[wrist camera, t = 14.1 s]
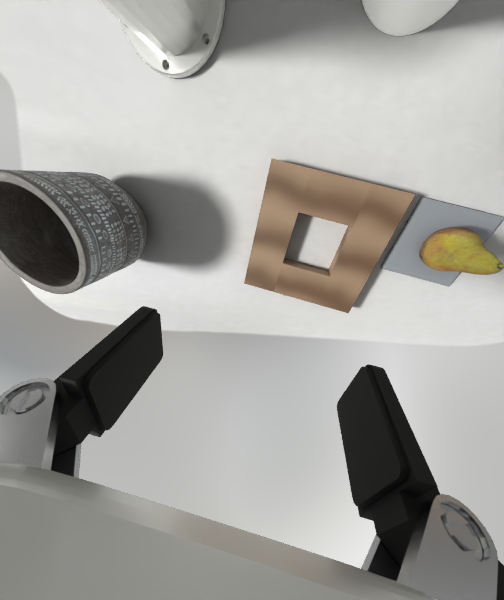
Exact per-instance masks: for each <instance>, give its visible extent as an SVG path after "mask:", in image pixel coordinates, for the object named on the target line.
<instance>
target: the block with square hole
mask: <svg viewBox="0 0 504 600" xmlns="http://www.w3.org/2000/svg"><path fill="white" fill-rule="evenodd" d="M414 196H415V194H412V193H408V192H404V191H400V190H396V189H392V188H388V187H384V186H380V185H376V184H372V183H368V182H364V181H360V180H356V179H352V178H348V177H344V176H340V175H336V174H332V173H328V172H324V171H320V170H316V169H312V168H308V167H304V166H300V165H296V164H292V163H288V162H284V161H280V160H276V159H271V164H270V168H269V173H268V177H267V182H266V187H265V191H264V196H263V200H262V205H261V209H260V214H259V218H258V223H257V228H256V232H255V237H254V241H253V246H252V250H251V255H250V259H249V264H248V269H247V273H246V278H245V282H244V283H245V284H249V285H252V286H256V287H259V288H263V289H266V290H270V291H273V292H276V293H280V294H283V295H287V296H290V297H294V298H297V299H301V300H304V301H308V302H311V303H315V304H318V305H322V306H325V307H329V308H332V309H336V310H339V311H343V312H346V313H349V311H350V310H351V308H352V306H353V304H354V302H355V301H356V299H357V297H358V295H359V294H360V292H361V290H362V288H363V286H364V285H365V283H366V281H367V279H368V278H369V276H370V274H371V272H372V271H373V269H374V267H375V265H376V263H377V262H378V260H379V258H380V256H381V255H382V253H383V251H384V249H385V247H386V246H387V244H388V242H389V240H390V239H391V237H392V235H393V233H394V231H395V230H396V228H397V226H398V224H399V223H400V221H401V219H402V217H403V216H404V214H405V212H406V210H407V208H408V207H409V205H410V203H411V201H412V200H413V198H414ZM298 212H299V213H303V214H307V215H310V216H314V217H318V218H322V219H326V220H329V221H333V222H337V223H341V224H345V225H348V228H347V230H346V232H345V234H344V237H343V239H342V241H341V243H340V246H339V248H338V250H337V252H336V255H335V257H334V259H333V261H332V264H331V266H330V268H329V270H328V271H327V270H324V269H320V268H317V267H313V266H309V265H306V264H302V263H299V262H295V261H291V260H288V259H284V257H285V254H286V251H287V247H288V244H289V241H290V238H291V235H292V231H293V228H294V225H295V222H296V218H297V215H298Z"/></svg>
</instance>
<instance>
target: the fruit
mask: <svg viewBox="0 0 504 600" xmlns="http://www.w3.org/2000/svg"><path fill="white" fill-rule="evenodd" d="M419 256H420V259H421V260H422V262H423V263H424V264H425V265H427V266H428V267H430V268H432V269H435V270H438V271H443V272H450V271H458V272H466V273H472V274H481V275H487V274H494V273H497V272H499V271H501V270H502V269H503V268H504V265H503V263H502V262H501V261H500V260H498V258H497V257H496V256H495V255H494V254H493V253H491V252H489V251H488V250H487V249H486V248H485V247H484V246H483V241H482V239H481V237H480V236H479V235H478V234H477V233H476V232H475V231H473V230H471V229H468V228H464V227H450V228H445V229H441V230H438V231H435V232H434V233H432V234H431V235H430V236H429V237H428V238H427V239H426V240H425V241H424V243H423V245H422V246H421V249H420V251H419Z"/></svg>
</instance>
